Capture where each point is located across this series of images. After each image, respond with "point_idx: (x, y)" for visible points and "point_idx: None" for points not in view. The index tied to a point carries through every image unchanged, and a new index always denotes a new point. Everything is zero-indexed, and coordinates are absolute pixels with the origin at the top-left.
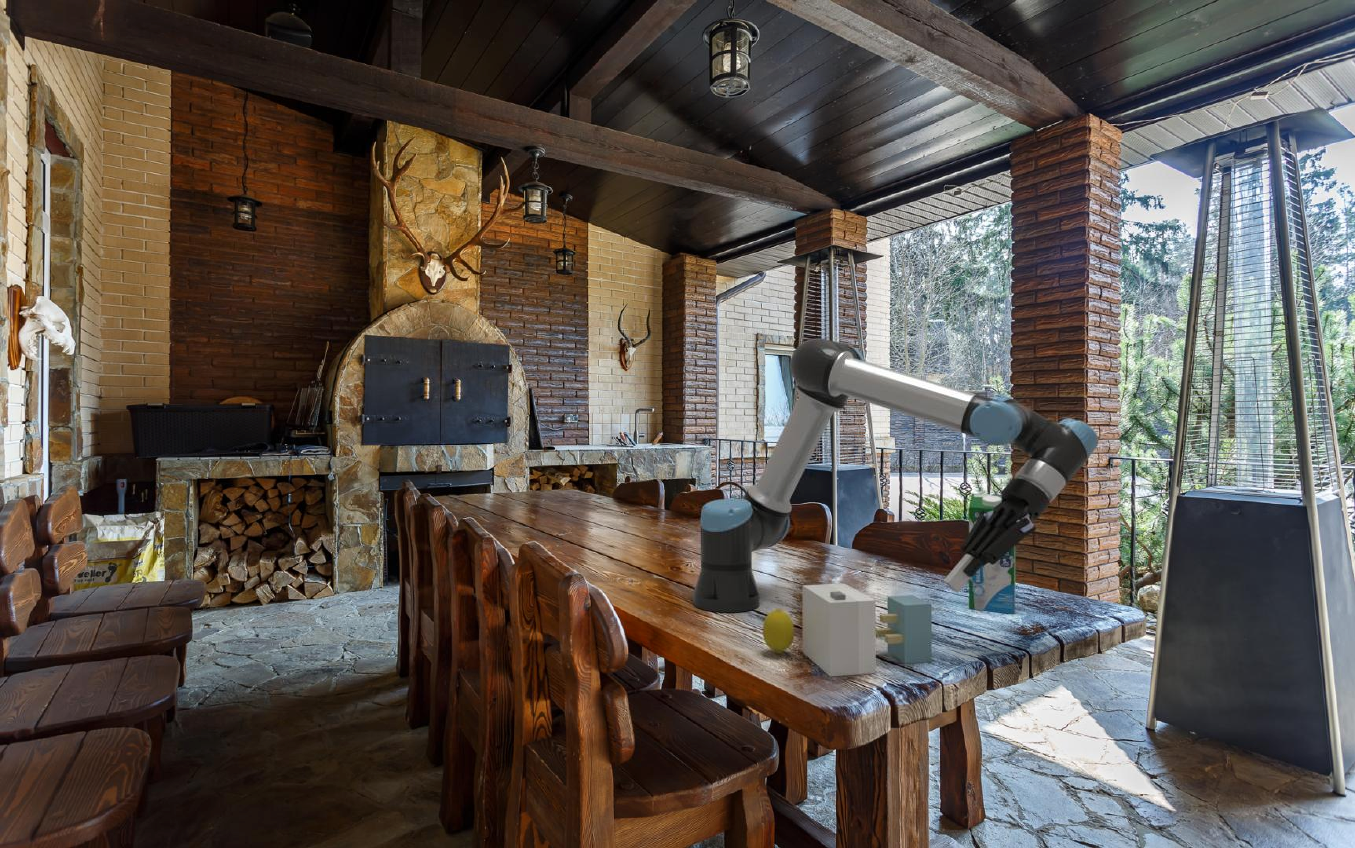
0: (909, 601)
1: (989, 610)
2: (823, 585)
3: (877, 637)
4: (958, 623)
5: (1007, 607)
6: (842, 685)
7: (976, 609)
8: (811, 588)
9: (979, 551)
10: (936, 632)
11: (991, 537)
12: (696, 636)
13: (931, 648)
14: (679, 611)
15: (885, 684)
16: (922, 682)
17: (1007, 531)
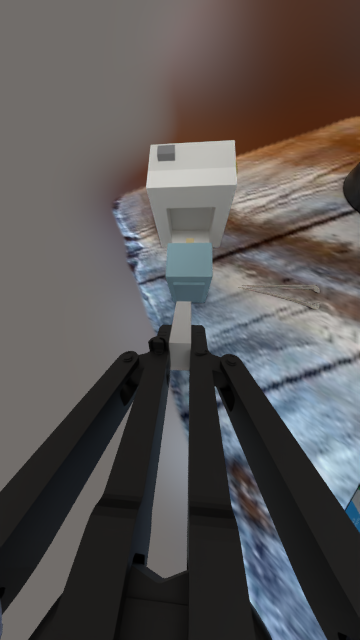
0: (182, 256)
1: (347, 508)
2: (230, 160)
3: (245, 288)
4: (287, 410)
5: None
6: (147, 219)
7: (357, 491)
8: (217, 145)
9: (152, 358)
10: (255, 359)
11: (132, 418)
12: (270, 155)
13: (172, 298)
14: (350, 152)
15: (140, 245)
16: (136, 271)
17: (38, 479)
